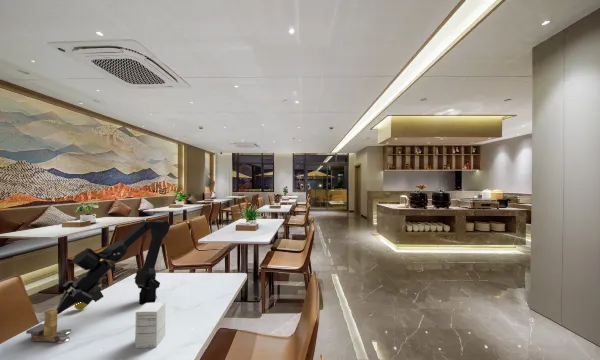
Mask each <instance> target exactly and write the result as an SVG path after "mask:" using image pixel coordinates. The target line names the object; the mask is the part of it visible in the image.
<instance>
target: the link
mask: <svg viewBox="0 0 600 360" xmlns="http://www.w3.org/2000/svg"><path fill="white" fill-rule="evenodd" d="M57 311H58V310H56V309H48V310H46V311H44V315H43V316H44V318H43V319H44V321H43V324H44V332H43V333H41V334H39V335H35V334H34V335H32V336H31V335H30V341H32V342H33V341H34V342H35V341H36V342H52V343H53V342H54V343H55V342H57V341H58V340H59V337H56V334H57V333H58V332H59V331H58V314H57Z"/></svg>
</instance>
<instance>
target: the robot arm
mask: <svg viewBox="0 0 600 360" xmlns="http://www.w3.org/2000/svg"><path fill="white" fill-rule="evenodd" d="M170 228H171V225H170V222H169V221H168V220H158V219H157V220H154V221H150V220H142V221H140V223H139V224H137V226H135V227H134V228H133V229H132V230H130V231H129V232H128V233H127V234H126V235H124V237H122V238H121V239H120V240H118V241H116V242H113V243H111V244H109V245H108V246H106V247H104V248H103V250H100V251H98V252H95V251H94V250H93V248H89V247H87V248H85V249H84V250H82V251H80V252H79V253H76V255H75V256H74V257H73V258H72V260H71V261H72V264H74V265H76V266H77V267H79V268H81V269H83V270H84V271H86V272H83V273H82V274H81V276H82V277H80V278H79V279H78V280H77V281H76V282H75V281H74V280H71V279H70V280H67V281H66V282H65V283H64V284H62V286H63V287H64V288H67V290H66V289H64V290H63V294H62V296H61V298H60V301H59V303H58V305H57V307H56V309H55V310H58V311H57V315H59V314H61V313H63V312H64V311H65V310H67V309H68V308H71V306H74V304H75V303H79V302H83V303H85V304H87V306H88V305H89V304H90V303H92V302H93V301H94V303H96V302H98V301H100V300H101V299H103V298H104V294H103V292H102V291H101V290H102V287H100V283H101V282H100V281H101V279H102V278H104V276H105V275H106V274H107V273H108V272H109V271H110V270H111V271H113V272H116V262H119V261H121V259H123V258H124V256H125V255H126V254H127V253H128V249H130V247H131V246H132V245H133V244H134V243H135V242H136V241H137V240H139V239H140V238H141V237H142V236H143V235H145V234H146V233H147V232H148V231H149V230H150V235H151V239H150V243H149V246H148V251H147V254H146V257H145V260H144V264H143V266H142V268H140V270H139V269H137V270H136V274H135V277H134V278H133V279H134V284H135V285H136V286H137V288H138V289H140V291H139V297H138V301H139V305H144V304H145V303H155V302H156V300H157V298H158V296H157V289H159V288H160V287H161V282H160V281H158V280H157V279H156V277H157V272H156V268H155V267H156V264H157V260H158V257H159V253H160V249H161V246H162V243H163V239H164V238H165V237H166V236H167V234H168V233H169V231H170ZM101 260H103V261H101ZM111 262H113V263H111Z"/></svg>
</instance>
